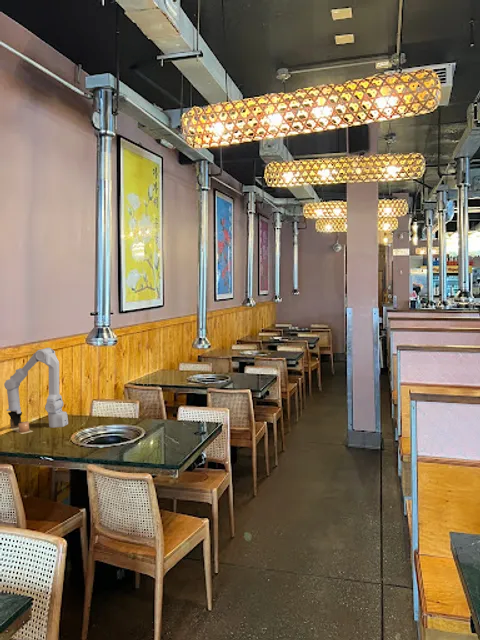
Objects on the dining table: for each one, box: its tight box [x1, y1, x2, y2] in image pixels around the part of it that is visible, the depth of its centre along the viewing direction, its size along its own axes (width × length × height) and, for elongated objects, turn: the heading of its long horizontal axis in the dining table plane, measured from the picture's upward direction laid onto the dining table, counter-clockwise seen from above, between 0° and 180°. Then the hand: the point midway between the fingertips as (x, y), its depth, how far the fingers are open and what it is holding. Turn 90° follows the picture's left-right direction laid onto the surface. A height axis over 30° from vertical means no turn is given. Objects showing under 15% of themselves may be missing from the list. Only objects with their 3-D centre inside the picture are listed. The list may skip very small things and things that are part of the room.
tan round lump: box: [18, 421, 30, 432], centre depth 260 cm, size 5×5×4 cm
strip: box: [9, 416, 34, 435], centre depth 264 cm, size 20×6×6 cm, turn 42°
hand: (16, 424), depth 269 cm, fingers closed on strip, 2 cm apart
